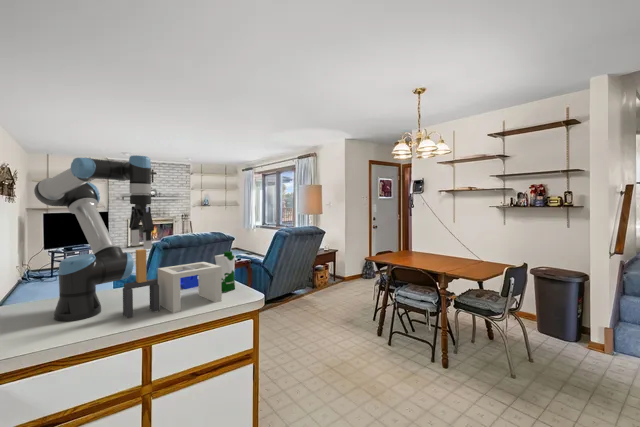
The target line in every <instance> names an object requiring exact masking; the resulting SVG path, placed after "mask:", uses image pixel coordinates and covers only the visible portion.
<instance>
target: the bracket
mask: <svg viewBox="0 0 640 427" xmlns="http://www.w3.org/2000/svg"><path fill="white" fill-rule="evenodd" d="M178 272H180V271H178ZM197 287H198V288H199V283H198V275H194V276H188V277H183V278H180V289H183V290H189V289H195V288H197Z"/></svg>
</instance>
